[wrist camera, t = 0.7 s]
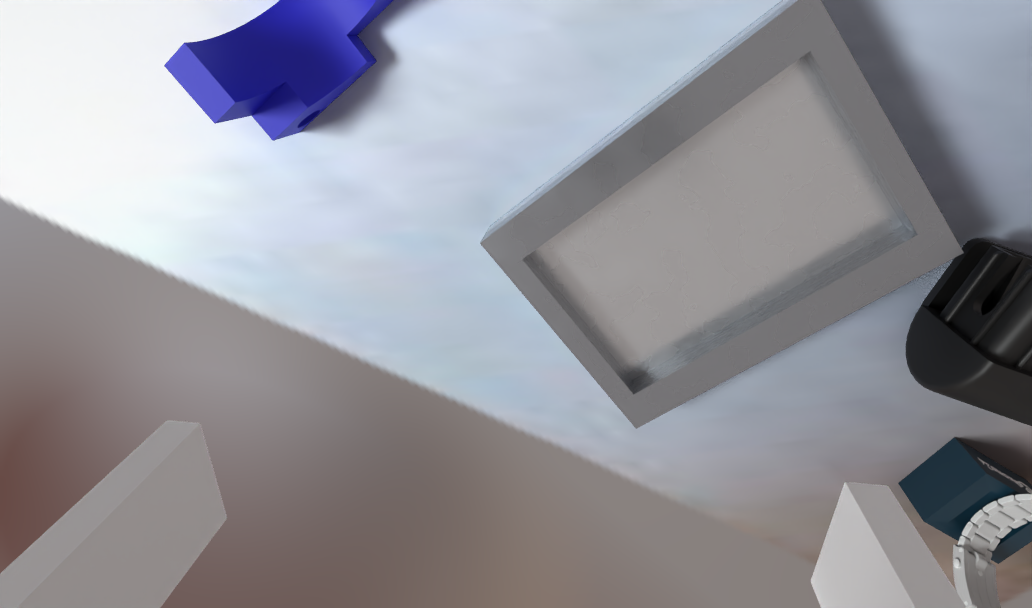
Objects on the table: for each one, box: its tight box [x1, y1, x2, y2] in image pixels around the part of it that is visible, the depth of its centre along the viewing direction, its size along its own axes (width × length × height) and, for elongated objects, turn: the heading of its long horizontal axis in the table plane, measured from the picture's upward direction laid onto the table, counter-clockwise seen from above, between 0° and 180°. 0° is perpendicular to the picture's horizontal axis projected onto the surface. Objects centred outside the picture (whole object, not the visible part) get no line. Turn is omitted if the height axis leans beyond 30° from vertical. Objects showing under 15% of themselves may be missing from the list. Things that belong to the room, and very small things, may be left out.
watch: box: [898, 438, 1032, 608], centre depth 30 cm, size 6×8×11 cm
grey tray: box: [480, 0, 964, 428], centre depth 29 cm, size 14×18×3 cm
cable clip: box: [164, 0, 393, 140], centre depth 26 cm, size 12×4×6 cm, turn 127°
